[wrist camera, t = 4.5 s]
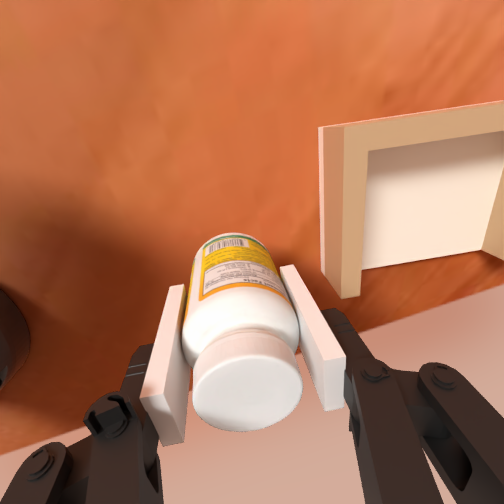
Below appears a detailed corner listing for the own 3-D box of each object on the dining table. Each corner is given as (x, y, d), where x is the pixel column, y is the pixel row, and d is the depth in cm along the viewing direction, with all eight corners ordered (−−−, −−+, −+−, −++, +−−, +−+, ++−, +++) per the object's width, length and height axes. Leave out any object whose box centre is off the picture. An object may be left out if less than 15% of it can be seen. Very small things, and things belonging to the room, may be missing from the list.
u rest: (320, 270, 24) (340, 299, 20) (318, 127, 19) (344, 126, 15) (486, 242, 25) (538, 264, 21) (527, 96, 20) (607, 88, 16)
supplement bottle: (225, 214, 16) (238, 312, 8) (287, 259, 18) (353, 378, 10) (176, 276, 18) (140, 418, 9) (238, 312, 20) (258, 457, 11)
